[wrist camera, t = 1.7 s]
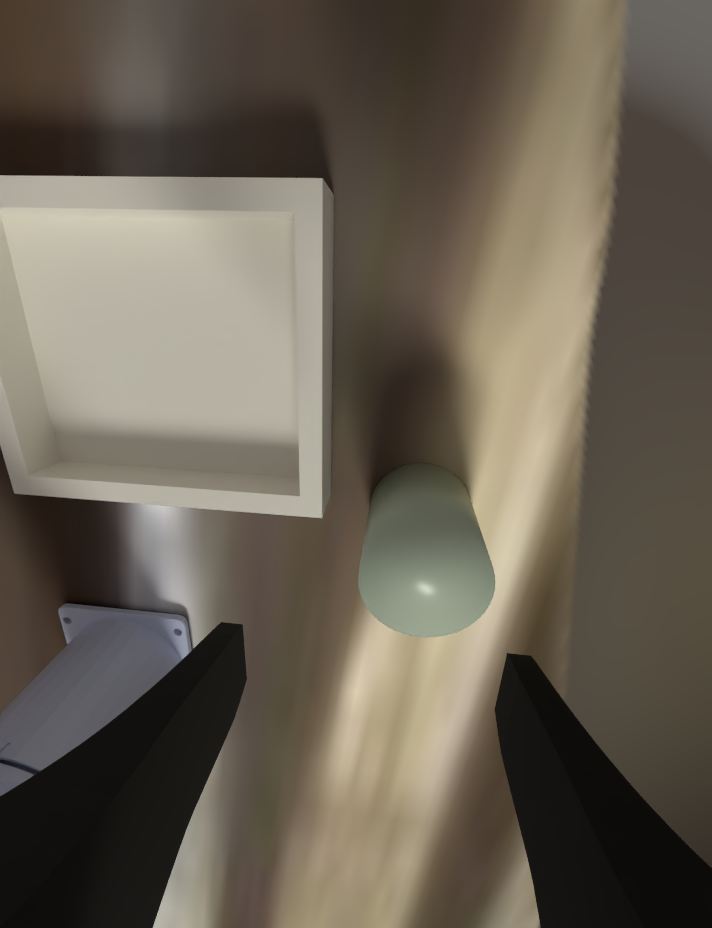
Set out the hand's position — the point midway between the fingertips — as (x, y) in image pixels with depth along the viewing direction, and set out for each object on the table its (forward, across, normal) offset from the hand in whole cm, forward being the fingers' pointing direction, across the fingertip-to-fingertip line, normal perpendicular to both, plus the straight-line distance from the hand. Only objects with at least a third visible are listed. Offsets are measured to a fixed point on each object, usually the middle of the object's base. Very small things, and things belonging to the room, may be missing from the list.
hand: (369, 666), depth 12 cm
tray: (+10, +10, -6) cm, 16 cm away
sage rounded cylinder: (+10, -2, 0) cm, 11 cm away
